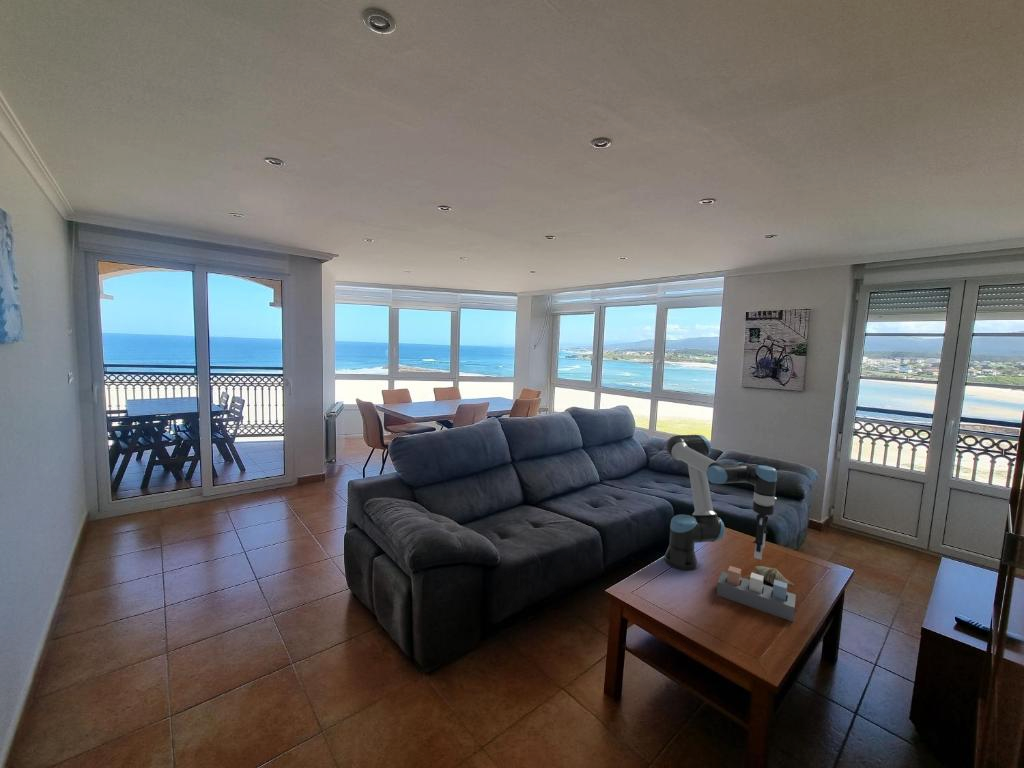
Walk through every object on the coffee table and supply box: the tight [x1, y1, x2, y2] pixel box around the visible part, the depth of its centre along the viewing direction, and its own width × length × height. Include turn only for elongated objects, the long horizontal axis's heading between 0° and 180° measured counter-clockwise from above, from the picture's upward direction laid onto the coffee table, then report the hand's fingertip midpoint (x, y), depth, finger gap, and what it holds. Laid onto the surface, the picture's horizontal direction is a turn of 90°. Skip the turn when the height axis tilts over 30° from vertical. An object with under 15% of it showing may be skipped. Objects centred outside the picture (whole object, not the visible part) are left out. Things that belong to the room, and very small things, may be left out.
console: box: [716, 571, 796, 622], centre depth 177 cm, size 28×11×6 cm, turn 53°
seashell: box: [755, 565, 795, 587], centre depth 189 cm, size 14×9×10 cm
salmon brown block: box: [727, 565, 742, 586], centre depth 181 cm, size 5×5×7 cm
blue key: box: [772, 579, 788, 601], centre depth 171 cm, size 5×5×7 cm
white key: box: [749, 572, 764, 593], centre depth 176 cm, size 5×5×7 cm
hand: (759, 552), depth 175 cm, fingers open, 11 cm apart
